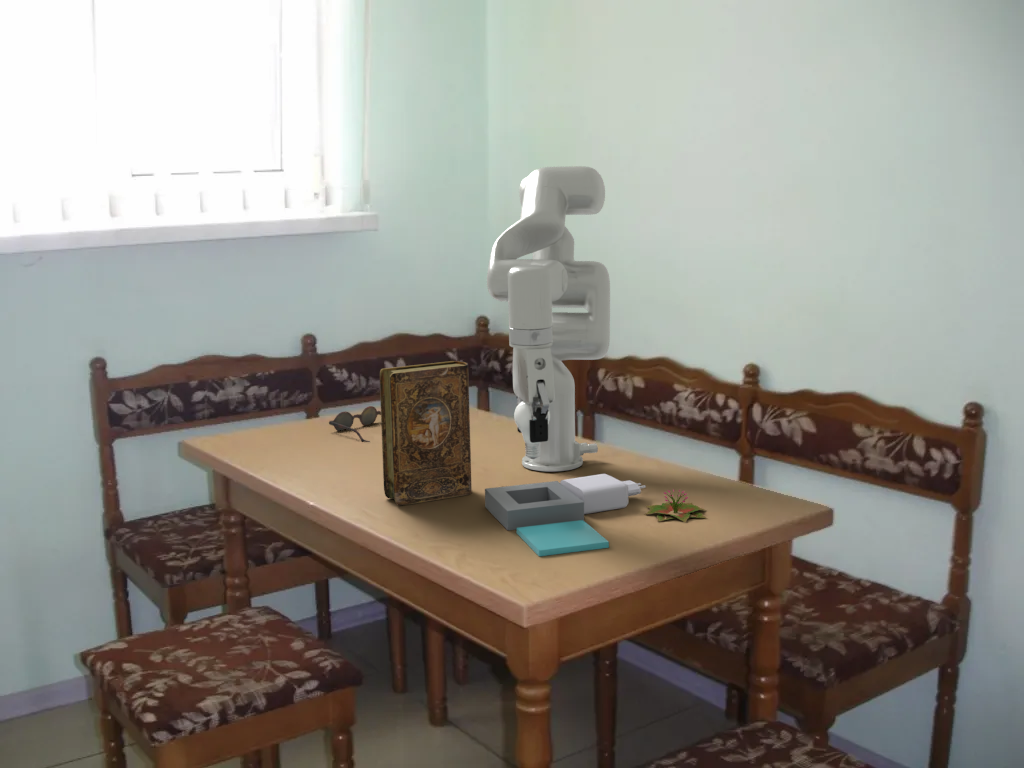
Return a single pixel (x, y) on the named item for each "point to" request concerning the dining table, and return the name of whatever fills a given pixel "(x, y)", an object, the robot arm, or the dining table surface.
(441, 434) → the book
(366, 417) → the eyeglasses
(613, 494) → the charger
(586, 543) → the plate
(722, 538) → the dining table surface
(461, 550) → the dining table surface
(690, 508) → the lily flower
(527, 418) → the lightbulb
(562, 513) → the frame
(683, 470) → the dining table surface
